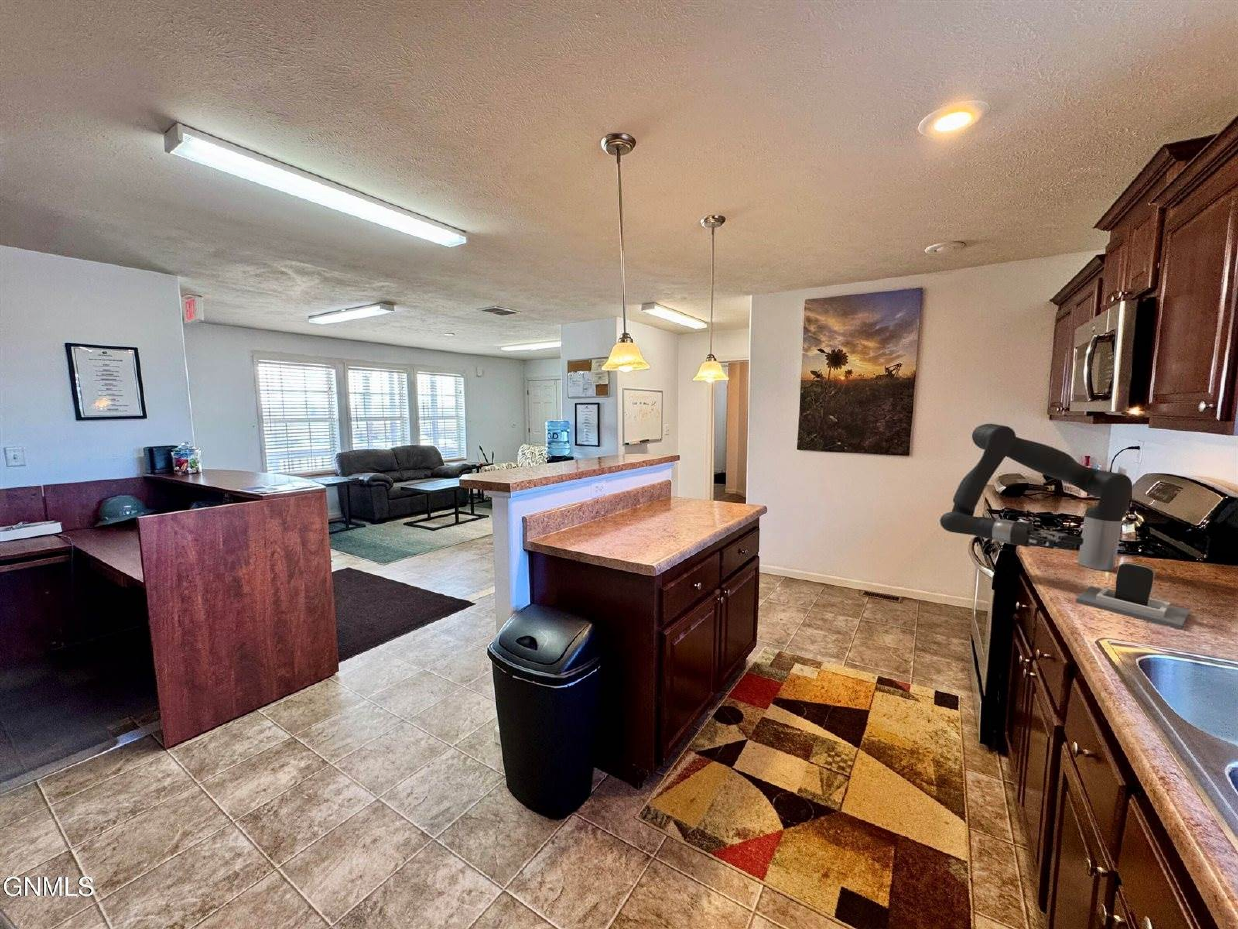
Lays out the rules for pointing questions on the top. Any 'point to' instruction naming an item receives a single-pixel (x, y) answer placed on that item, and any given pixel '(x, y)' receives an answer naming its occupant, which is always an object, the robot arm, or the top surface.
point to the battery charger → (1134, 583)
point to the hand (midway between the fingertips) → (1079, 544)
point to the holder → (1135, 607)
